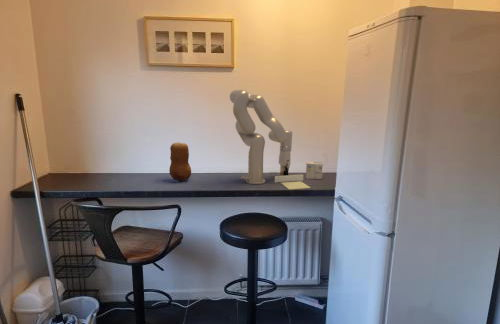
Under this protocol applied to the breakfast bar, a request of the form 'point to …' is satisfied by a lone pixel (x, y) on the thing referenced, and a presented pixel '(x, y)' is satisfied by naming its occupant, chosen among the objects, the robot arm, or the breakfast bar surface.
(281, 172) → the birch cylinder
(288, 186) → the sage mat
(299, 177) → the cream plank
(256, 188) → the breakfast bar surface
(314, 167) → the light bulb box
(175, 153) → the butternut squash
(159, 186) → the breakfast bar surface
